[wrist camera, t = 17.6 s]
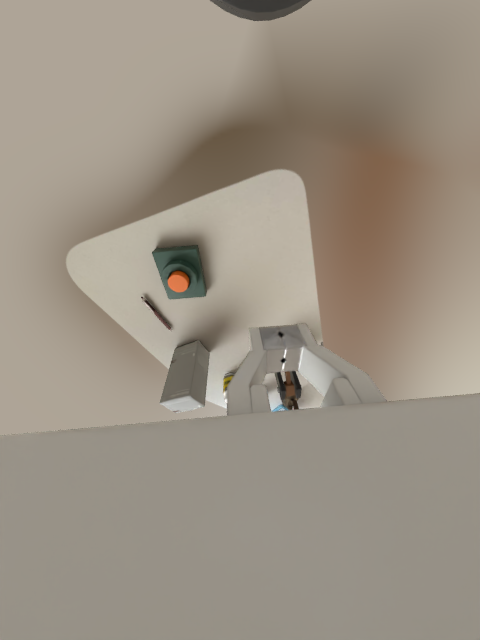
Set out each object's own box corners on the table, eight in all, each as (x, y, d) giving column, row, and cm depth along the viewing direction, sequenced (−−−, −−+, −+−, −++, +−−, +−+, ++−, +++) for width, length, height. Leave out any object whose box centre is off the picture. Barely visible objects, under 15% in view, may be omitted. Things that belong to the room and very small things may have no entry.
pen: (140, 296, 40) (139, 299, 40) (143, 295, 40) (142, 297, 40) (171, 330, 47) (170, 333, 46) (173, 329, 47) (172, 332, 46)
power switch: (274, 345, 47) (275, 348, 45) (293, 343, 47) (296, 346, 44) (279, 391, 49) (281, 396, 47) (297, 389, 49) (300, 394, 46)
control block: (155, 248, 34) (148, 255, 31) (197, 245, 34) (194, 252, 31) (171, 294, 41) (166, 304, 38) (206, 291, 41) (205, 301, 38)
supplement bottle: (229, 371, 60) (229, 395, 53) (240, 376, 62) (242, 400, 55) (220, 378, 62) (220, 402, 55) (231, 382, 64) (232, 406, 57)
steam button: (167, 271, 34) (164, 275, 32) (186, 269, 34) (185, 273, 32) (173, 288, 36) (171, 293, 34) (191, 287, 36) (189, 291, 35)
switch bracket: (264, 345, 53) (273, 385, 43) (295, 341, 53) (311, 380, 43) (265, 368, 60) (273, 407, 50) (293, 364, 59) (306, 403, 49)
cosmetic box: (198, 339, 50) (189, 393, 37) (211, 354, 54) (207, 407, 42) (172, 348, 51) (155, 403, 39) (187, 362, 56) (175, 416, 43)
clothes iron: (300, 389, 70) (310, 418, 64) (292, 397, 79) (301, 423, 73) (282, 392, 69) (291, 421, 63) (277, 399, 78) (284, 426, 72)
